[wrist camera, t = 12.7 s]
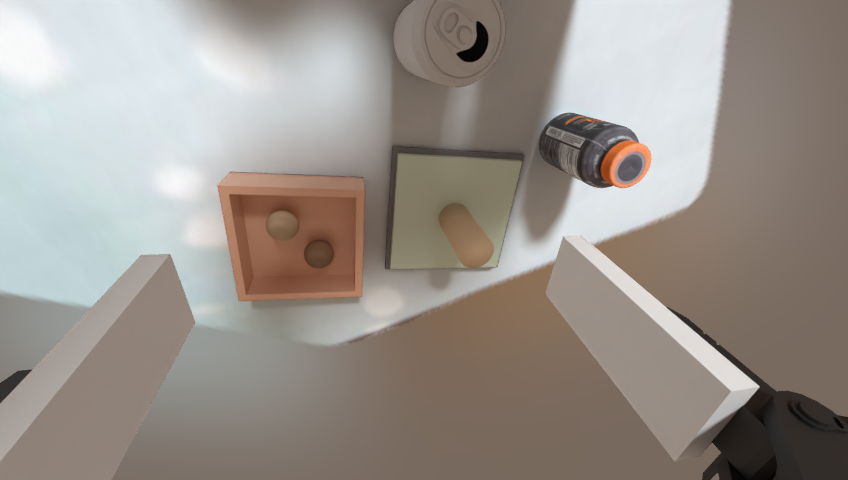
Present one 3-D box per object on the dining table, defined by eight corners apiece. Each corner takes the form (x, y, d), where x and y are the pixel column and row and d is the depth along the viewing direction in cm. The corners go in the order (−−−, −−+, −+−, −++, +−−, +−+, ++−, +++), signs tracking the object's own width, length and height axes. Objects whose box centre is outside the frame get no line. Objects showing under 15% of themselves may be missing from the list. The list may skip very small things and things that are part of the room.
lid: (397, 152, 36) (411, 179, 28) (519, 159, 39) (561, 185, 31) (389, 265, 42) (399, 312, 35) (494, 263, 45) (524, 306, 38)
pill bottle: (593, 116, 39) (676, 138, 29) (573, 167, 41) (643, 202, 32) (547, 107, 37) (619, 127, 28) (530, 160, 40) (590, 196, 30)
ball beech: (267, 204, 36) (260, 217, 33) (299, 205, 36) (296, 217, 34) (270, 232, 37) (264, 246, 34) (301, 232, 38) (298, 246, 35)
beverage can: (433, 91, 34) (472, 108, 24) (378, 49, 31) (394, 48, 21) (471, 30, 32) (531, 20, 22) (416, -20, 29) (455, -58, 19)
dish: (230, 171, 34) (217, 185, 30) (363, 177, 37) (364, 190, 33) (247, 279, 40) (238, 301, 36) (360, 276, 43) (361, 296, 39)
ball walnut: (304, 234, 38) (301, 248, 35) (334, 234, 39) (333, 248, 36) (306, 259, 39) (303, 274, 37) (334, 258, 40) (333, 273, 37)
